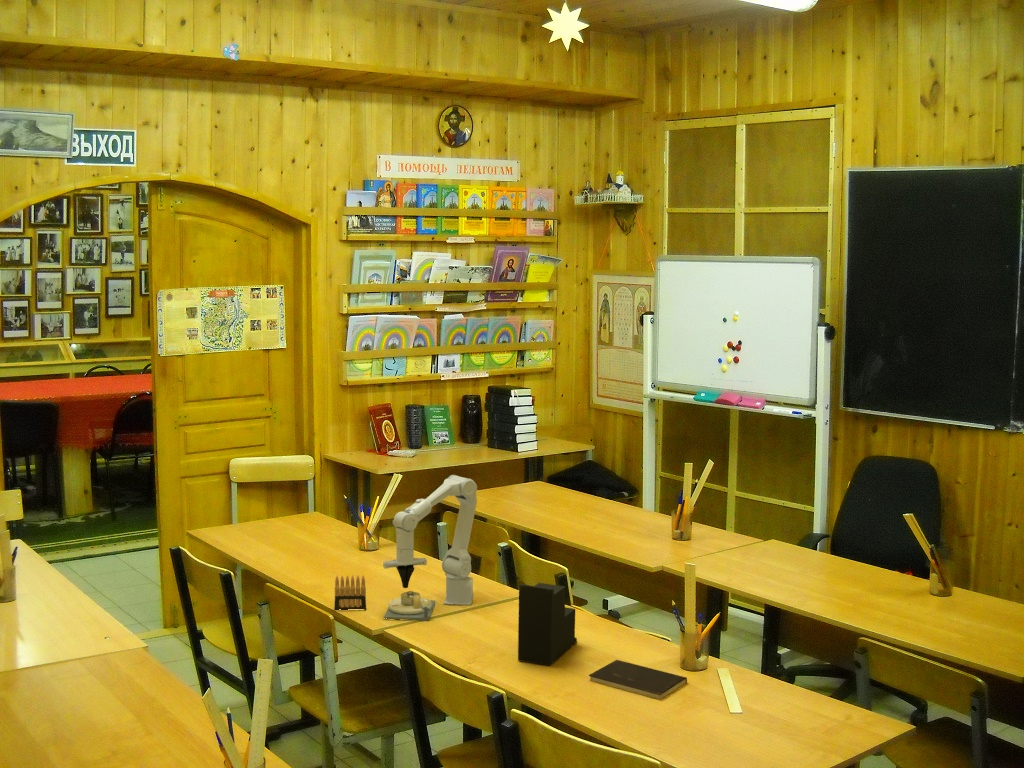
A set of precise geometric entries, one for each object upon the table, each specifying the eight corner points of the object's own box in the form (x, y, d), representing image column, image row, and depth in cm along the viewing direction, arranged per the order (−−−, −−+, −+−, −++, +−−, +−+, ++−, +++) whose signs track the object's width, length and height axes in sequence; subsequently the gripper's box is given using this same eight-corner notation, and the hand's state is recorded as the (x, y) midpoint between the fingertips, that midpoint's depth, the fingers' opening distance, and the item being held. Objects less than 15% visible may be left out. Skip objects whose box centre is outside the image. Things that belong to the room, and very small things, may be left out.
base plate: (435, 603, 387) (435, 600, 387) (428, 620, 368) (428, 618, 368) (392, 602, 388) (392, 599, 388) (383, 619, 369) (383, 616, 369)
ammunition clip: (334, 611, 378) (334, 576, 376) (334, 609, 379) (334, 574, 378) (366, 610, 379) (365, 575, 377) (366, 608, 380) (366, 574, 379)
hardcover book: (659, 702, 304) (660, 694, 304) (588, 682, 318) (588, 674, 318) (687, 684, 317) (687, 676, 317) (617, 666, 331) (617, 658, 330)
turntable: (420, 598, 388) (420, 583, 387) (438, 610, 375) (438, 594, 375) (382, 604, 381) (382, 589, 380) (399, 616, 368) (399, 600, 367)
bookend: (545, 637, 354) (546, 565, 351) (577, 642, 349) (579, 569, 347) (516, 661, 332) (517, 585, 330) (550, 667, 328) (552, 589, 325)
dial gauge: (431, 619, 370) (431, 599, 369) (431, 620, 369) (431, 600, 368) (420, 619, 370) (420, 599, 369) (420, 620, 369) (420, 600, 368)
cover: (414, 599, 382) (414, 588, 382) (422, 604, 377) (423, 593, 376) (397, 601, 379) (397, 591, 379) (405, 607, 374) (405, 596, 373)
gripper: (422, 542, 379) (423, 581, 380) (381, 546, 374) (381, 585, 375) (428, 548, 372) (428, 587, 374) (385, 551, 367) (386, 591, 369)
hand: (405, 587), depth 374 cm, fingers closed
